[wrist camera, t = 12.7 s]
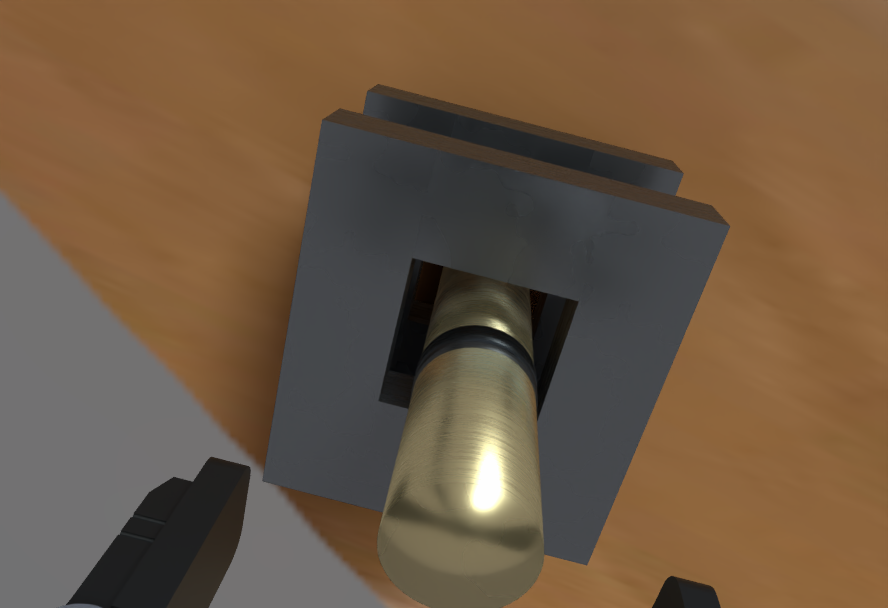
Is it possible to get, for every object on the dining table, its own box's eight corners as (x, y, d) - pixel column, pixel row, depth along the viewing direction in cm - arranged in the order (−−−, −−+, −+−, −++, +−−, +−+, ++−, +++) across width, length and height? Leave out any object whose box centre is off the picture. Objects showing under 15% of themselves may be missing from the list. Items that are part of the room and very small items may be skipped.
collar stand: (387, 77, 28) (322, 119, 19) (662, 150, 28) (730, 226, 19) (334, 345, 33) (262, 481, 24) (569, 406, 33) (586, 565, 24)
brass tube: (459, 197, 30) (393, 461, 13) (538, 217, 30) (569, 505, 13) (440, 269, 31) (359, 592, 14) (515, 289, 31) (519, 631, 15)
